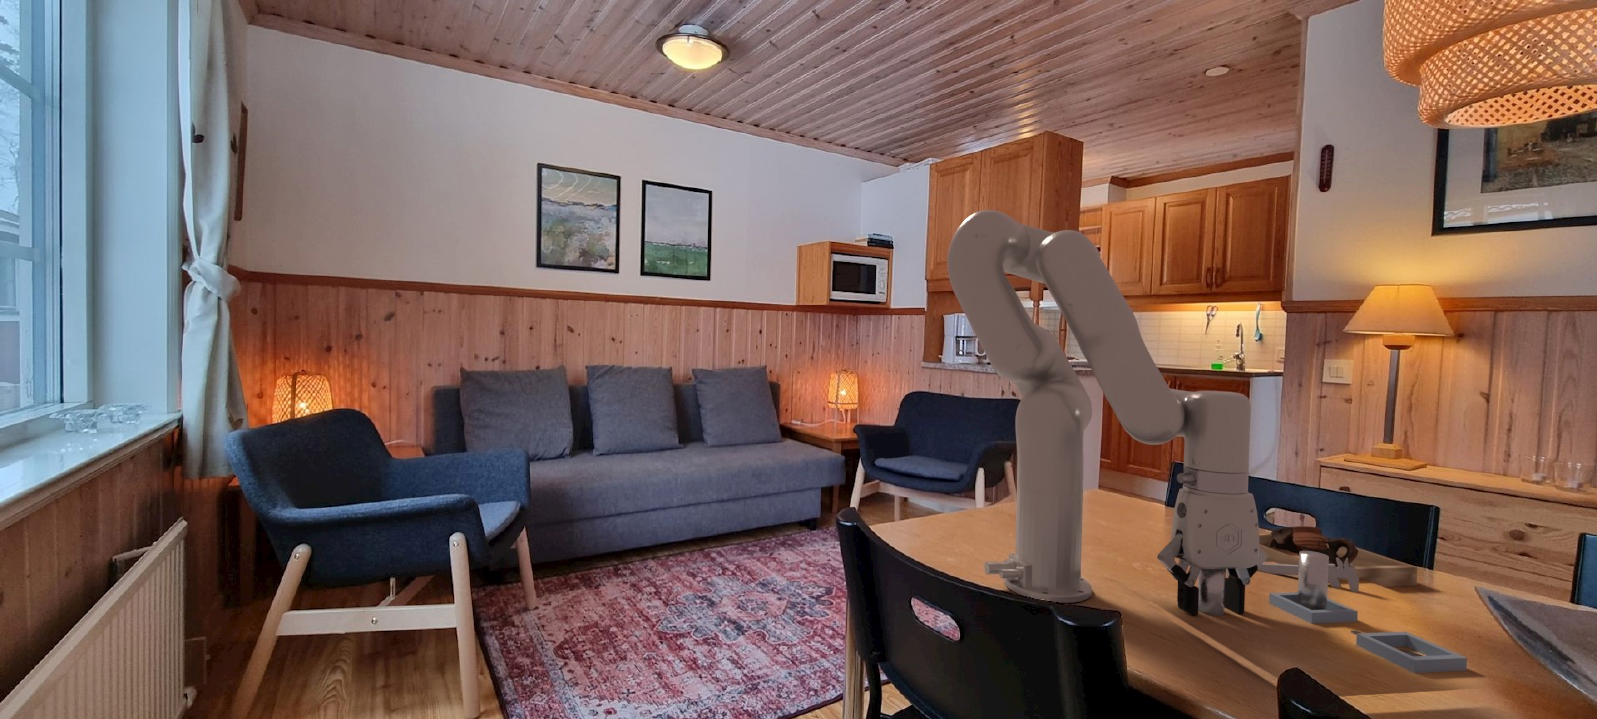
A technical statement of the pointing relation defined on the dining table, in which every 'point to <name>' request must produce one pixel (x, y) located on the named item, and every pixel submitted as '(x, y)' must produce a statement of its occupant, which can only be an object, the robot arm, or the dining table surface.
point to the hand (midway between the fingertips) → (1210, 609)
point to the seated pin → (1313, 580)
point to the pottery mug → (1312, 543)
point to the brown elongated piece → (1367, 564)
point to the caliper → (1333, 572)
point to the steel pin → (1212, 591)
